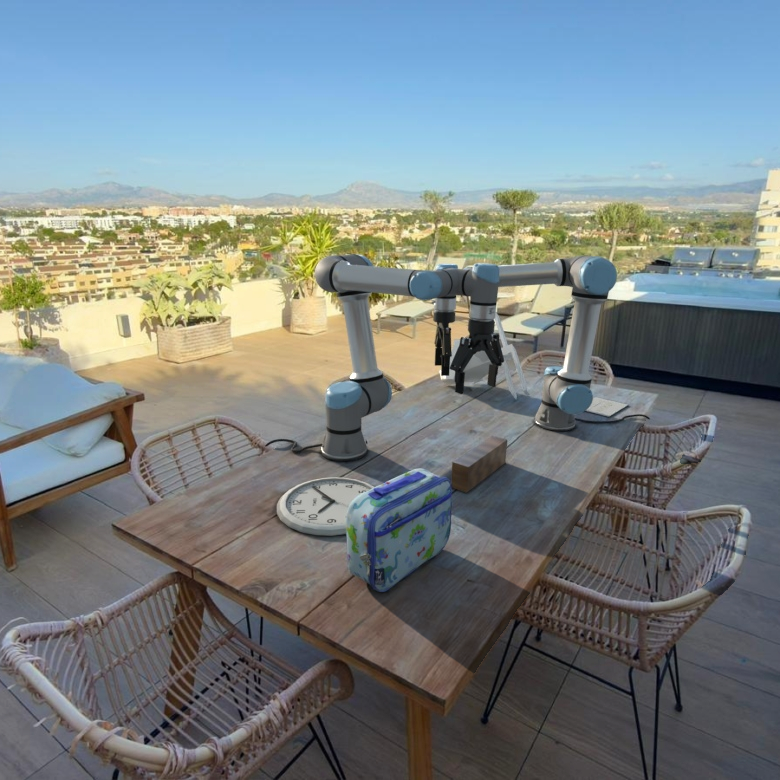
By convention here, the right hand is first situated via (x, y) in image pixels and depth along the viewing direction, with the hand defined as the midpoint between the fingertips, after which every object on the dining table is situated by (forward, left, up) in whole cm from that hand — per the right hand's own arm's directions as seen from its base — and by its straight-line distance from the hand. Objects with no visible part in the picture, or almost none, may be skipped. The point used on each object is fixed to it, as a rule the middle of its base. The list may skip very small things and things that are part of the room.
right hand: (441, 370), depth 185 cm
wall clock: (+27, +55, -25) cm, 67 cm away
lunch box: (+6, +79, -25) cm, 83 cm away
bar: (-14, +30, -25) cm, 41 cm away
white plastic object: (-17, -55, -25) cm, 63 cm away
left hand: (-11, +28, +2) cm, 30 cm away
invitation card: (-69, -44, -25) cm, 85 cm away
